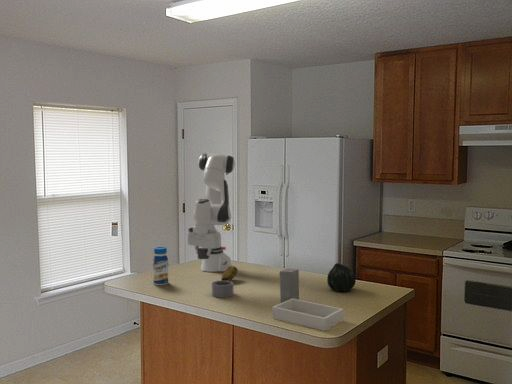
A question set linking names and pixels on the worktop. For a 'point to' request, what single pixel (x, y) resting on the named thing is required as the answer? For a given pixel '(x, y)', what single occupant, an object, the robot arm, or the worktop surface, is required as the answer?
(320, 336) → the worktop surface
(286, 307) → the frame
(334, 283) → the squash
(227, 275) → the potato
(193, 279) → the worktop surface
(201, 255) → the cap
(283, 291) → the skincare box
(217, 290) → the faceted grey cup
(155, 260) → the beverage bottle
